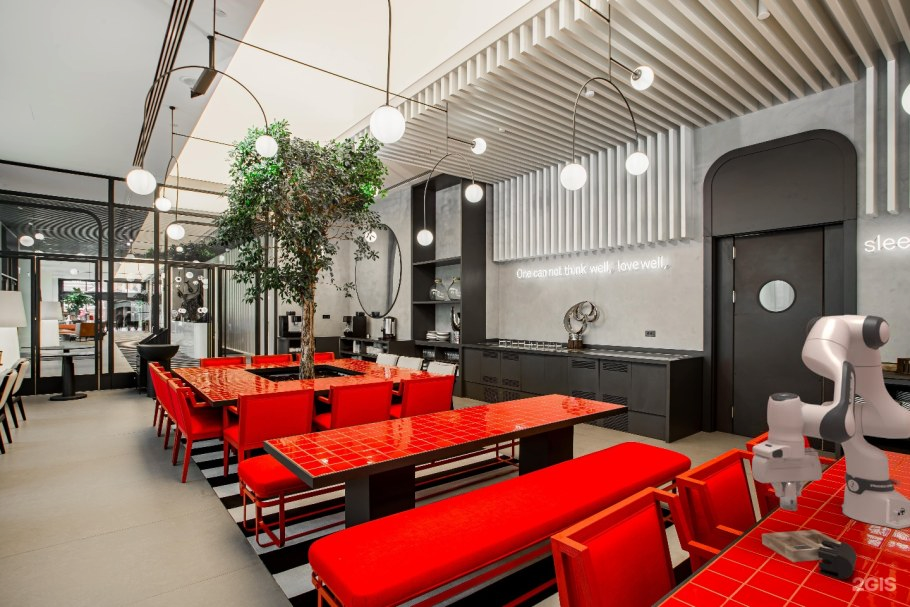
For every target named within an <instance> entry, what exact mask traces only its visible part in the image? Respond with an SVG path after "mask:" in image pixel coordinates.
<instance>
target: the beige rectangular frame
mask: <svg viewBox="0 0 910 607" xmlns="http://www.w3.org/2000/svg"><path fill="white" fill-rule="evenodd" d="M761 538H762V539H761V540H762V545H764V546H765V547H767V548H768V549H770V550H772V551H774V552H775V553H777V554H778V555H781V556H782V557H784V558H786V559H788V560H789V561H791V562H792V563H797V562H810V561H821V560H822V559H823V558H819V557H818V550H819V547H823V548H827V549H832V548H828V547H824V546H823V545H822V544H821V543H822V541H823V540H825V541H829V542H833V543H837V544H841V542H840V541H838V540H836V539H834V538H832V537H830V536H828V535H826V534H824V533H822V532H820V531H818V530H816V529H808V530H793V531H781V532H780V531H779V532H770V533H769V532H768V533H761Z"/></svg>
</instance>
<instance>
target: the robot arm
mask: <svg viewBox="0 0 910 607" xmlns="http://www.w3.org/2000/svg"><path fill="white" fill-rule="evenodd" d="M805 331H806V332H805V333H806V339H805V342H804V345H803V347H802V351H801V359H802V362H803V364H804V365H805V366H806V367H807V369H809V370H811V371H812V372H813V373H815V374H817V375H819V376H821V377H824V378H826V379H829V380H832V381H833V382H834V393H833V400H832V401H825V402H823V403H822V404H821V405H820V404H810V403H806V402H803V401H802V400H801V398H800V396H799V395H798V394H796V393H790V392H776V393H773V394H771V395H769V399H768V401H767V408H766V410H767V413H766V414H767V417H766V419H767V420H766V422H767V425H768V429H769V430H768V433H767V434H768V435H767V440H764V441H763V442H760V443H758V444H756V445H754V446H753V447H752V453H753V454H755V455H753V458H752V460H751V461H752V462H751V464H752V465H751V469H752V470H751V471H752V472H751V474H752V477H753V478H754V481H755V480H756V481H757V482H759V483H762V484H771V486H772V488H773V489H774V493H775V496H776V497H778V498H780V497H785V495H784V494H785V492H784V491H782V490H781V488H780V486H781V482H796V495H797V497H801V496H802V489H803V488H804V487H805V482H811V481H820V480H821V479H822V478H823V472H822V466H821V461H820V458H819V452H818V450H816V449H815V448H813V447H805V437H804V436H806V437H811V438H816V439H817V438H818V439H821V440H825V441H828V442H834V443H835V444H840V445H841V447H842V449H843V452H844V457H845V467H846V468H845V469H846V471H845V472H844V480H845V484H846V485H845V487H844V495H843V496H844V497H843V498H844V499H843V503H842V504H841V508H842V512H841V513H842V514H843V515H845V516H847V517H848V518H851V519H853V520H856V521H859V522H862V523H866V524H871V525H876V526H882V527H888V528H892V529H897V530H899V529H900V530H901V529H904V528H909V527H910V499H909V498H907V497H906V496H904V495H903V494H901V493H900V492H898V491H897V490H896V489H895V486H896V487H900V486H901V484H902V481H901V480H900V479H896V478H893V477H892V478H890V470H889V469H890V468H889V458H888V455H887V454H886V453H885V452H884V451H883V450H881V449H880V448H878V447H876V446H874V445H872V444H871V443H869V442H868V441H867V440H866V439H865V438H864V436H869V437H875V438H885V439H909V438H910V410H908V409H907V408H906V407H903V405H900V404H899V403H898V402H897V401H896V400H894V399H893V397H892V396H891V395H890V393H889V391H888V390H887V388H886V385H885V381H884V376H883V375H884V374H883V368H882V367H883V366H882V355H881V351H880V348H881V347H882V348H883V346H884V345H886V344H887V343H888V342H889V339H890V335H891V329H890V325H889V323H888V321H886V319H884V317H881V316H876V315H860V314H859V315H858V314H844V315H830V316H829V315H828V316H825V315H824V316H823V315H822V316H821V315H820V316H815V317H813V318H811V319H810V320H809V321H808V322H807V325H806V328H805ZM856 395H858V396H859V397H860V398H861V399H862V400H864V402H856Z"/></svg>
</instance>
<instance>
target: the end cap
mask: <svg viewBox="0 0 910 607" xmlns="http://www.w3.org/2000/svg"><path fill="white" fill-rule="evenodd" d="M821 544H822V545H823V546H824V547H828V548H832V549H827V548H823V547H819V550H818V557H819V558H823V559H822V562H821V561H818V569H819V574H820V575H823V576H827V577H831V578H833V579H837V580H844V579H847V578H850V577H851V576H852V575H853V573H854V571H855V570H854V569H855V566H856V563H857V558H858V555H857V552H856V551H855V549H854V548H853V547H852V546H851V545H850V543H846V542H845V541H841V544H837V543H833V542H829V541H825V540H823V541H822V543H821Z"/></svg>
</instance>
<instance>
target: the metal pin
mask: <svg viewBox="0 0 910 607" xmlns="http://www.w3.org/2000/svg"><path fill="white" fill-rule="evenodd" d="M780 488H781V490H782V491H784V492H785V494H784V495H785V497H779V504H780V508H781V509H782V510H785V511H791V512H796V511H798V502H797V501H798V499H797V498H798V496H797V495H796V482H781V486H780Z"/></svg>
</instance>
